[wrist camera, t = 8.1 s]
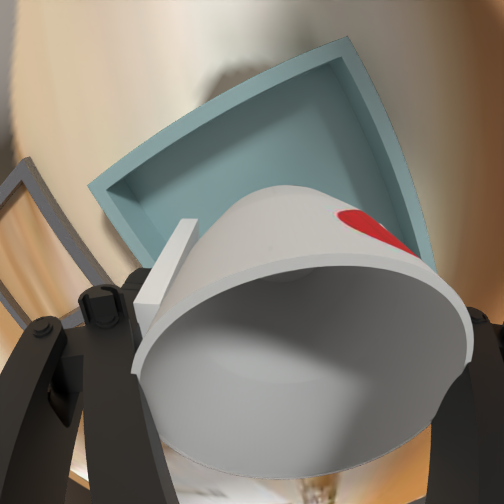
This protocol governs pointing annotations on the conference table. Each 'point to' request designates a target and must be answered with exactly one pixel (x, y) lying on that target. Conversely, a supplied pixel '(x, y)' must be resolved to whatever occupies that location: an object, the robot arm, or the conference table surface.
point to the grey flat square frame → (61, 228)
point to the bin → (269, 155)
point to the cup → (300, 341)
